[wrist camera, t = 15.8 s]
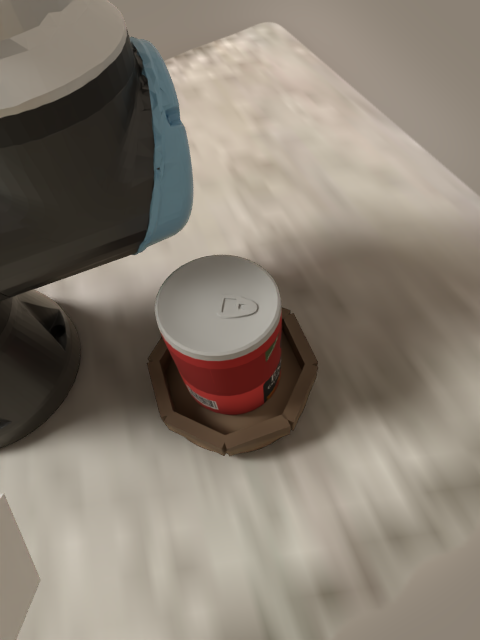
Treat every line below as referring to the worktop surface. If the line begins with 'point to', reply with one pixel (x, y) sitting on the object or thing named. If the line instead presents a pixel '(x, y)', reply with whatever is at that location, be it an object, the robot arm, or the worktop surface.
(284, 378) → the walnut tray
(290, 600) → the worktop surface
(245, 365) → the canned food
